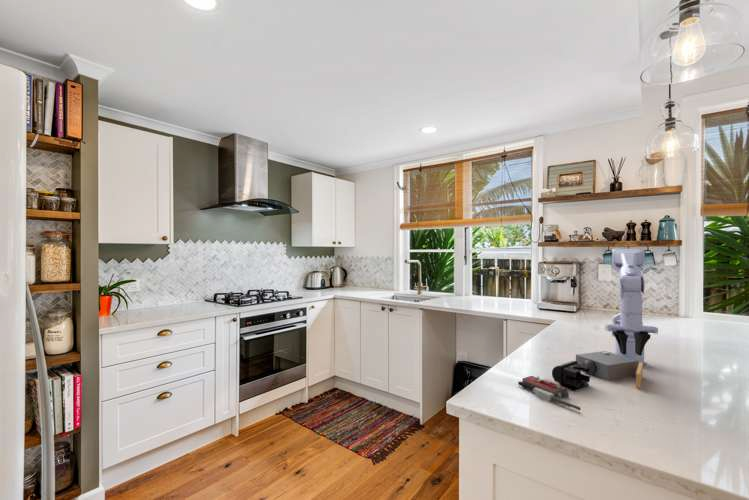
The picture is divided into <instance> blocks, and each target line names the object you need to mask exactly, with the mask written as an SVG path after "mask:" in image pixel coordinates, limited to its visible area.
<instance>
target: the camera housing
mask: <svg viewBox="0 0 749 500" xmlns="http://www.w3.org/2000/svg"><path fill="white" fill-rule="evenodd" d="M575 361H577V362H578V364H580V365H584V366H587V367H590V372H586V371H583V372H584V373H585V374H586V375H587V374H588V375H592V376H595V377H598V378H601V379H603V380H606V381H612V380H617V379H623V378H629V377H636V372H637V368H638V365H639V361H638V360H634V359H631V358H628V357H624V356H621V355H617V354H615V352H610V351H606V350H604V351H603V350H602V351H595V352H594V351H593V352H587V353H585V352H584V353H579V354H577V353H576V354H575Z"/></svg>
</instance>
